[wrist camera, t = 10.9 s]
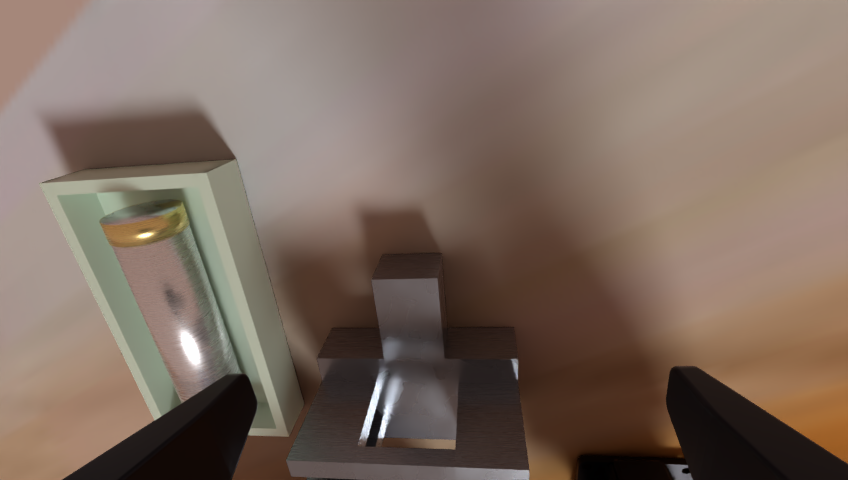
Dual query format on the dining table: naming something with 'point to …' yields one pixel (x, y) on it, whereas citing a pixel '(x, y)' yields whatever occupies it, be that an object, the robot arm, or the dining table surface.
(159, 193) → the tray
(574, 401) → the dining table surface
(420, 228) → the dining table surface
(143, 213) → the gold capped cylinder
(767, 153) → the dining table surface
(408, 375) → the clevis block
